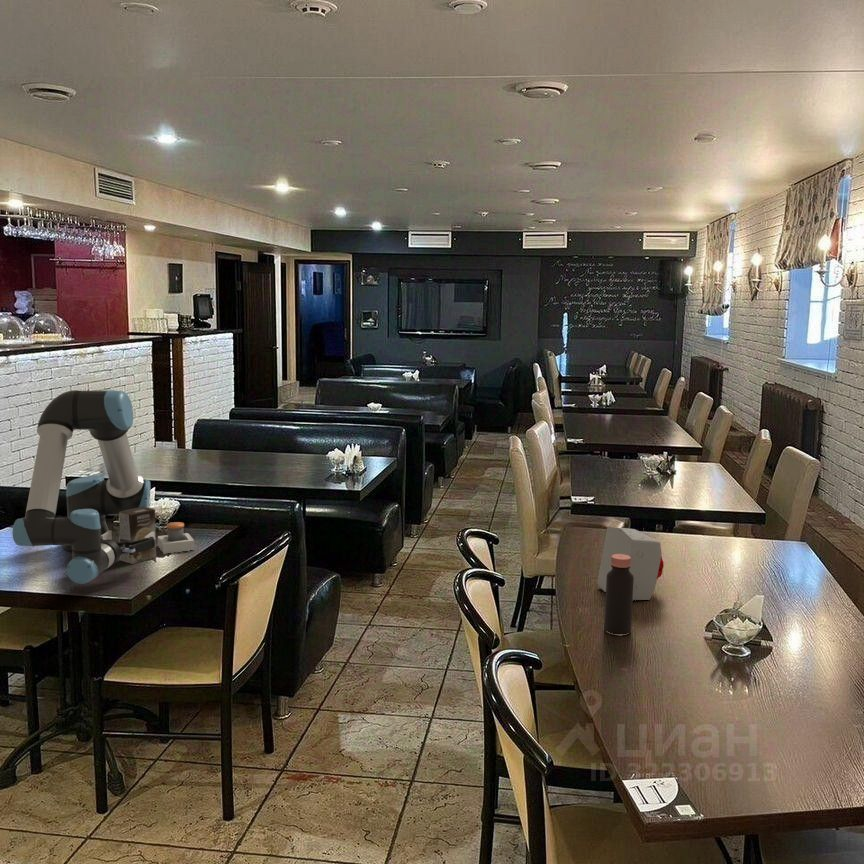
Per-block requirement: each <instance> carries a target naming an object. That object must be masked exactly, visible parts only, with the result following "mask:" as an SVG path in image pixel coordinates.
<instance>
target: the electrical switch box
mask: <svg viewBox="0 0 864 864" xmlns="http://www.w3.org/2000/svg"><path fill="white" fill-rule="evenodd" d="M601 554H602V555H601V560H600V565H599V571H598V577H597V582H596V583H597V585H598V586H599V587H600V589H601V590H602V591H603V592H604V593H605V592H606V578H607V574H608V572H609V571H611V570H612V567H611V556H612V555H614V554H625V555H628V556H630V557H631V566H630V568H629V571H630V572H631V574H632V575H633V577H634V583H633V601H634V600H635V601H636V600H649V601H650V600H651V598H652V596H653V594H654V592H655V590H656V586H657V585H656V584H657V580H659V578H661V577H662V575H663V570H664V560H663V555H662V545H661V542H660V541H659V540H656V539H655V538H653V537H650V536H649V535H647V534H645V533H643V532H641V531H639V530H638V529H635V528H628V527H618V526H617V527H616V526H607V527H606V532H605V538H604V543H603V549H602V553H601ZM635 601H634V602H635ZM636 602H637V601H636Z"/></svg>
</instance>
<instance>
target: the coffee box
mask: <svg viewBox="0 0 864 864" xmlns="http://www.w3.org/2000/svg"><path fill="white" fill-rule="evenodd" d="M118 516H119V517H118V518H119V542H123V541H127V542H131V541H136V540H141V539H144V537H145V536H147V535H148V534H150V533H151V532H154V533H155V547H154V548H151V549H147V550H144V551H141V552H138V553H136V554H134V555H129V553H125V554H121V556H120V561H122V562H125V563H128V564H131V565H133V564H138V563H142V562H146V561H149V560H153V559H156V558H157V541H156V536H157V535H156V509H154V508H150V507H148V508H145V507H140V508H135V509H130V510H125V511H120V512H119V515H118ZM123 545H124V546H125V544H123ZM155 557H156V558H155ZM152 558H153V559H152ZM148 559H149V560H148ZM145 560H146V561H145ZM141 561H142V562H141Z"/></svg>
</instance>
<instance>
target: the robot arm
mask: <svg viewBox="0 0 864 864" xmlns="http://www.w3.org/2000/svg"><path fill="white" fill-rule="evenodd" d="M132 403H133V402H132V401H131V399H130V396H129V395H128V393H126V392H125V391H124V390H123V391H122V390H115V389H109V390H108V389H107V390H74V389H72V390H68V391H65V392H63V393H61V394H59V395H57V396H56V397H54V399H52V400H51V401H50V402H49V403H48V405H47V406H46V407H45V409H44V410H43V412H42V413H41V415H40V418H39V420H38V423H37V428H36V434H38V436H39V439H38V444H37V449H36V455H35V459H34V466H33V472H32V477H31V482H30V489H29V494H28V499H27V502H26V503H27V504H26V510H25V516H24V517H21V518H17V519H15V521H14V523H13V525H12V539H13V541H14V543H15V544H16V545H17V546H23V547H36V546H37V547H39V546H42V547H43V546H44V547H45V546H63V549H64V550H65V551H68V552H71V554H72V555H71V556H72V559H71V560H70V561H69V562H68V564H67V566H66V574H67V575H66V576H68V578H69V580H71V582H73V583H75V584H80V585H84V584H87V583H89V582H91V581H93V580H95V579H96V578H97V577H98V576H99V575H100V574H101V573H103V572H104V571H106V570H107V569H108V568H110V567H111V566H112V565H115V563H117V562H118V561H119V560H120V559H121V554H125V553H129V555H134V554H136V553H138V552H141V551H144V550H147V549H151V548H154V547H155V534H156V532H155V533H154V532H151V533H150V534H148V535H147V536H145V537H144V539H141V540H136V541H131V542H127V541H123V542H120V541H114V540H113V535H112V533H113V532H112V530H111V529H110V530H109V528H108V525H107V523H106V522H107V521H106V516H119V512H120V511H125V510H130V509H135V508H140V507H145V508H150V507H149V506H150V501H151V500H150V499H151V487H152V486H151V481H150V480H149V479H146V478H145V479H144V477H143V476H142V474H141V473H139V472H138V471H137V469H136V466H135V462H134V458H133V455H132V450H131V446H130V443H129V438H128V434H127V433H128V432H129V430H130V429H131V428H132V427H133V423H134V410H133V404H132ZM76 430H77V431H78V430H79V431H80V430H85V431H87V430H88V431H89V434H90V436H91V437H92V438H93V439H95V440H97V443H98V445H99V449H100V453H101V455H102V459H103V463H104V467H105V469H106V474H107V477H108V479H107V480H105V478H104V476H103V475H99V474H95V475H88V476H86V475H85V476H82V477H78V478H74V479H72V480H70V481H69V482H68V483H67V484H66V490H65V491H66V494H65V497H66V510H67V511H66V513H67V517H56V513H57V508H58V507H57V506H58V501H59V495H60V488H61V483H62V476H63V470H64V465H65V464H64V463H65V459H66V452H67V446H68V442H69V440H70V439H72V438H73V436H74V435H73V433H74V431H76ZM123 544H125V546H124V545H123Z"/></svg>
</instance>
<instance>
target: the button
mask: <svg viewBox="0 0 864 864" xmlns="http://www.w3.org/2000/svg"><path fill="white" fill-rule="evenodd" d="M166 528H167V535H168V541H170V542H174V541H182V540H184V534H183V533H184V528H185V523H184V522H182V521H181V522H180V521H176V522H175V521H174V522H169V523H167V524H166Z"/></svg>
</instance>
